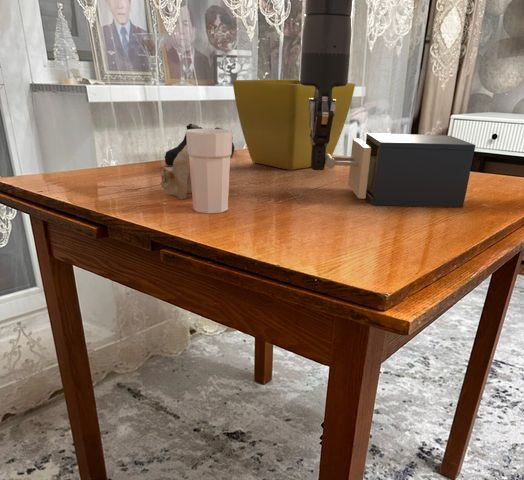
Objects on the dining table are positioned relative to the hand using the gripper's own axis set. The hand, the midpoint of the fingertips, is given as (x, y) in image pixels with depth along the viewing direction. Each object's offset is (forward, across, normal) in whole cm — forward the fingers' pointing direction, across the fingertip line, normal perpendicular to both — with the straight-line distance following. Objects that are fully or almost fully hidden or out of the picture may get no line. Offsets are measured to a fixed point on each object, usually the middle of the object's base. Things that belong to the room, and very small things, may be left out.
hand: (317, 169), depth 90 cm
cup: (+4, -12, +17) cm, 21 cm away
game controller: (+4, +24, +22) cm, 33 cm away
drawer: (+3, 0, -10) cm, 11 cm away
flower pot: (+4, +33, +3) cm, 33 cm away
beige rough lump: (+4, -2, +23) cm, 23 cm away
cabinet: (+4, 0, -16) cm, 17 cm away
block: (+2, 0, -11) cm, 11 cm away
